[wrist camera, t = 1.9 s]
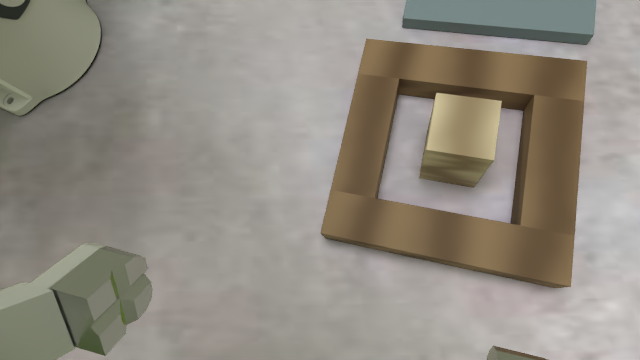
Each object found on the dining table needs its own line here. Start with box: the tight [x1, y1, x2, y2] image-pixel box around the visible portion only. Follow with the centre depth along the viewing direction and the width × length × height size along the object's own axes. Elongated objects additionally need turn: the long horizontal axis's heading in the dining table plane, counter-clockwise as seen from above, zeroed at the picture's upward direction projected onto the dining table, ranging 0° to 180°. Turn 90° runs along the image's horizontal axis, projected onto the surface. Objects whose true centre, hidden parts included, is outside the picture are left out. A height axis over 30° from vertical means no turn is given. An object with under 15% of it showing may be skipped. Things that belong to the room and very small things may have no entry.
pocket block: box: [321, 39, 587, 288], centre depth 37 cm, size 20×20×3 cm
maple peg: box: [419, 93, 502, 187], centre depth 35 cm, size 5×5×8 cm
